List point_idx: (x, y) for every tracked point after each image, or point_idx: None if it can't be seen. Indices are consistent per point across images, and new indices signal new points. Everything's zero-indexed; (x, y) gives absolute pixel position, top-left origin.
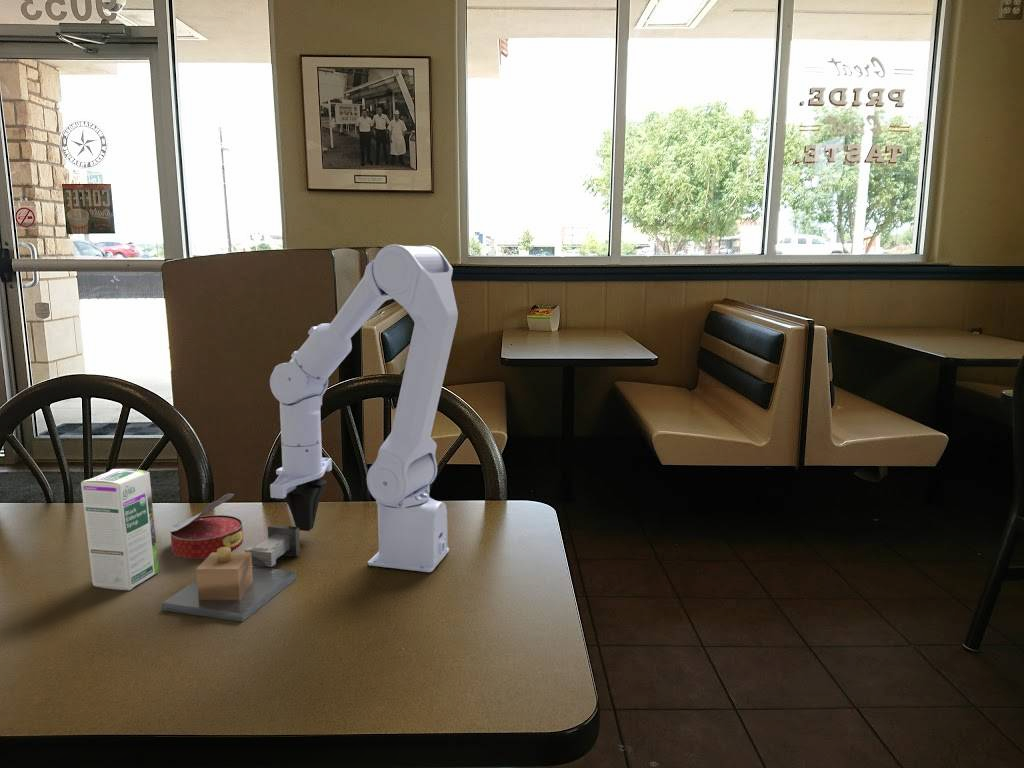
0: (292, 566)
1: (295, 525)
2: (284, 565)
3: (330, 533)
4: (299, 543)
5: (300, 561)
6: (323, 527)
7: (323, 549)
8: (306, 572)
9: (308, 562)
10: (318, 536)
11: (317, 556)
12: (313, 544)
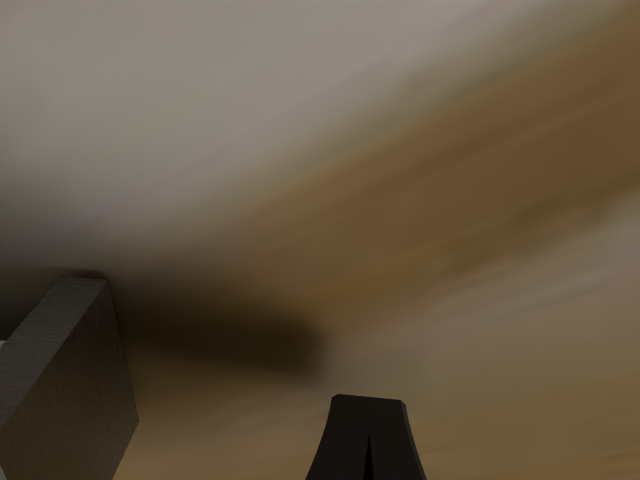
0: None
1: (331, 416)
2: None
3: (496, 449)
4: (109, 477)
5: None
6: (608, 394)
7: (260, 472)
8: None
9: None
10: (438, 410)
11: (172, 471)
12: (310, 420)
